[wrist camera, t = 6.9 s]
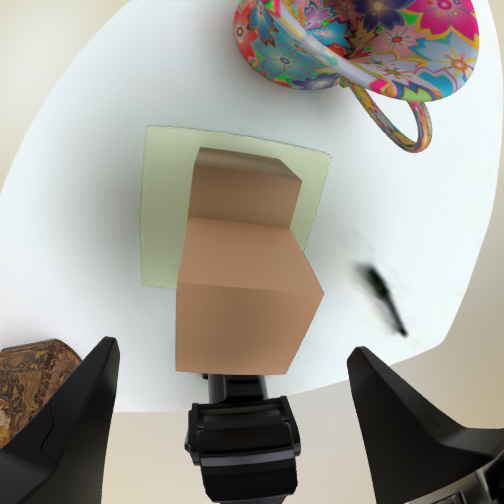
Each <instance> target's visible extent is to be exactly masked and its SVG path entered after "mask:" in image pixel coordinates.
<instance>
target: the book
mask: <svg viewBox="0 0 504 504" xmlns="http://www.w3.org/2000/svg"><path fill="white" fill-rule="evenodd" d="M81 362H82V360H81V358H80V357H79V356H78V355H77V353H76V352H75V351H74V350H73V349H71V348H70V347H69V346H68V345H66V344H65V343H63V342H62V341H60V340H58V339H52V340H47V341H42V342H37V343H32V344H27V345H21V346H16V347H11V348H7V349H3V350H2V351H1V352H0V448H2V447H3V446H5V445H6V444H7V443H8V442H9V441H10V440H11V439H12V438H13V437H14V436H15V435H16V434H17V433H18V432H19V431H20V430H21V429H22V428H23V427H24V426H25V425H26V424H27V423H28V422H29V421H30V420H31V419H32V418H33V417H34V416H35V415H36V414H37V413H38V412H39V410H40V409H41V408H42V407H43V406H44V404H45V403H46V402H48V400H49V399H50V397H51V396H52V395H53V394H54V393H55V392H56V390H57V389H58V388H59V387H60V386H61V384H62V383H63V382H64V381H65V380H66V379H67V378H68V376H69V375H70V374H71V373H72V372H73V371H74V370H75V368H76V367H77V366H78V365H79V364H80V363H81Z"/></svg>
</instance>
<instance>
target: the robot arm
mask: <svg viewBox="0 0 504 504" xmlns="http://www.w3.org/2000/svg"><path fill="white" fill-rule="evenodd" d="M119 361H120V351H119V347H118V343H117V340H116V338H114V337H108V336H106V337H104V338H103V339H102V340H101V341H100V342H99V343H98V344H97V345H96V346H95V347H94V348H93V350H92V351H91V352H90V353H89V354H88V355H87V356H86V357H85V358H84V360H83V361H82V362H81V363H80V364H79V365H78V366H77V367H76V368H75V370H74V371H73V372H72V373H71V374H70V375H69V376H68V378H67V379H66V380H65V381H64V382H63V383H62V384H61V386H60V387H59V388H58V389H57V390H56V392H55V393H54V394H53V395H52V396H51V397H50V399H49V400H48V402H46V403H45V404H44V406H43V407H42V408H41V409H40V410H39V412H38V413H37V414H36V415H35V416H34V417H33V418H32V419H31V420H30V421H29V422H28V423H27V424H26V425H25V426H24V427H23V428H22V429H21V430H20V431H19V432H18V433H17V434H16V435H15V436H14V437H13V438H12V439H11V440H10V441H9V442H8V443H7V444H6V445H5V446H3V447H2V448H0V504H101V497H102V490H101V489H102V483H103V473H104V464H105V456H106V449H107V441H108V436H109V429H110V424H111V418H112V413H113V408H114V403H115V397H116V390H117V379H118V370H119ZM347 368H348V374H349V380H350V386H351V392H352V397H353V401H354V404H355V409H356V413H357V416H358V420H359V424H360V428H361V432H362V436H363V440H364V445H365V449H366V453H367V458H368V462H369V467H370V472H371V474H372V475H371V476H372V482H373V487H374V492H375V497H376V503H377V504H404V503H407V502H409V504H504V428H503V429H478V428H467V427H464V426H462V425H460V424H458V423H457V422H456V421H454V420H453V419H451V418H450V417H449V416H447V415H446V414H444V413H443V412H442V411H440V410H439V409H437V408H436V407H435V406H434V405H433V404H432V403H430V402H429V401H428V400H427V399H426V398H424V397H423V396H422V395H421V394H420V393H419V392H417V391H416V390H415V389H414V388H413V387H412V386H411V385H409V384H408V383H407V382H406V381H405V380H404V379H402V378H401V377H400V376H399V375H398V374H397V373H396V372H394V371H393V370H392V369H391V368H390V367H389V366H387V365H386V364H385V363H384V362H383V361H382V360H381V359H379V358H378V357H377V356H376V355H375V354H374V353H372V352H371V351H370V350H369V349H368V348H367V347H365V346H360V347H356V348H355V349H354V350H353V352H352V353H351V355H350V356H349V357H348V359H347ZM202 375H203V379H207V380H208V385H209V404H198V403H192V410H190V411H189V414H188V420H189V421H188V422H189V423H188V431H187V435H186V440H185V445H184V446H185V450H186V451H187V452H189V453H190V456H191V458H192V460H193V463H194V465H195V466H200V467H201V473H202V479H203V485H204V487H205V492H206V494H207V495H208V497H209V498H210V499H211V500H212V502H214V503H217V502H218V503H220V504H282V502H283V501H284V499H285V498H286V496H288V495H292V494H294V492H295V489H296V487H297V484H298V482H297V471H296V461H295V457H296V456H299V455H300V452H301V444H300V435H299V431H298V427H297V424H296V421H295V419H294V416H293V413H292V411H291V408H290V405H289V402H288V400H287V397H286V396H280V397H278V398H271V399H269V398H268V393H267V388H266V383H265V378H264V375H231V374H208V373H203V374H202Z"/></svg>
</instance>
